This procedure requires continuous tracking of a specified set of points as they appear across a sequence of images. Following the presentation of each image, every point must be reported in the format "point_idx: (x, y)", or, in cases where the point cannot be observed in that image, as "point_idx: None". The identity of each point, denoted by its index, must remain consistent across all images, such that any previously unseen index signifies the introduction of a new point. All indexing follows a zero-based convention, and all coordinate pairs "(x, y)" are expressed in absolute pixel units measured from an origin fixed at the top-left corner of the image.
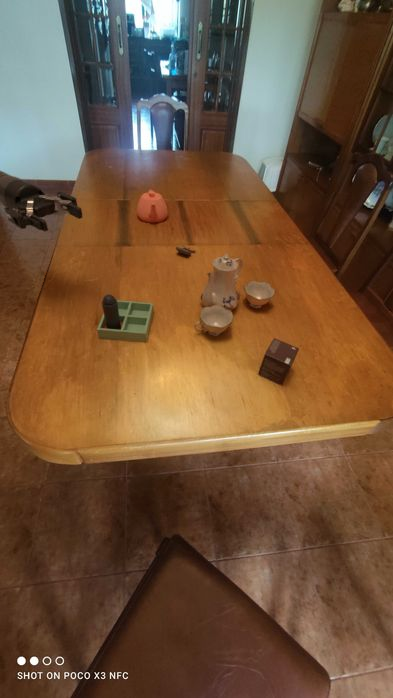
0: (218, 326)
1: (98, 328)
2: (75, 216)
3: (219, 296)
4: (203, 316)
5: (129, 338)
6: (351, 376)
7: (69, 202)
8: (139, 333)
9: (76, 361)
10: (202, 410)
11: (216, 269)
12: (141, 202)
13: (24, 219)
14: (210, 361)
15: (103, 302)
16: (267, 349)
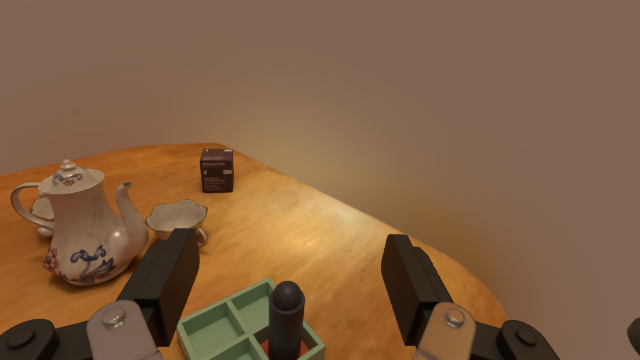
0: None
1: (321, 345)
2: (189, 290)
3: (121, 224)
4: None
5: None
6: (186, 155)
7: (128, 301)
8: (274, 285)
9: (391, 344)
10: (310, 205)
11: (96, 187)
12: None
13: (487, 328)
14: (244, 223)
15: (300, 300)
16: (223, 160)
